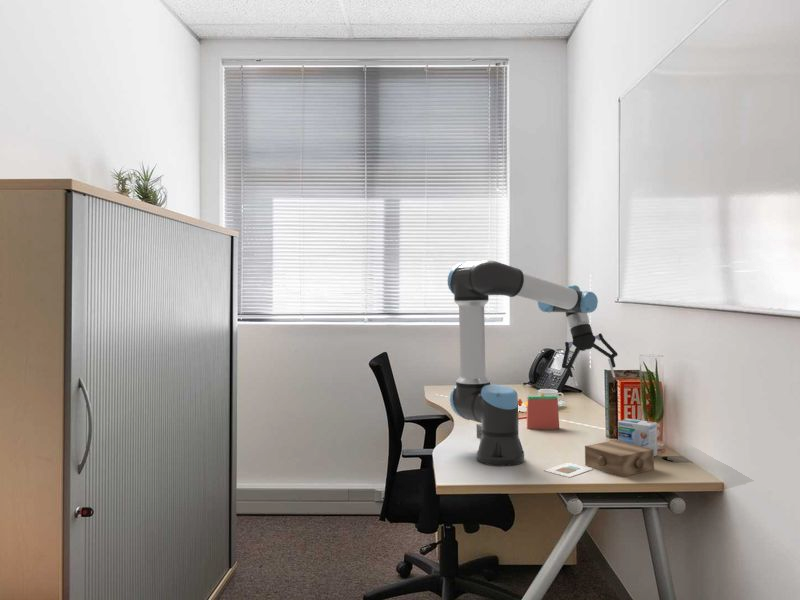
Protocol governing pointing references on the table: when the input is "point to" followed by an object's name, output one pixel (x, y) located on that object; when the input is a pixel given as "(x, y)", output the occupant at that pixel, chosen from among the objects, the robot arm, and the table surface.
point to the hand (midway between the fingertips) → (595, 381)
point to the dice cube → (479, 431)
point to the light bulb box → (638, 433)
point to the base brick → (619, 457)
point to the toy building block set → (542, 412)
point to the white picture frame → (568, 470)
